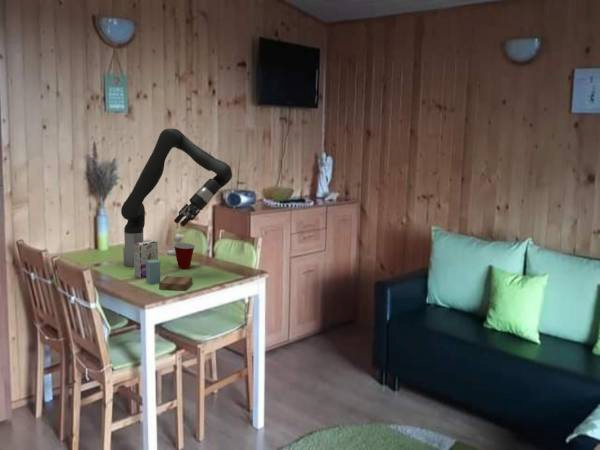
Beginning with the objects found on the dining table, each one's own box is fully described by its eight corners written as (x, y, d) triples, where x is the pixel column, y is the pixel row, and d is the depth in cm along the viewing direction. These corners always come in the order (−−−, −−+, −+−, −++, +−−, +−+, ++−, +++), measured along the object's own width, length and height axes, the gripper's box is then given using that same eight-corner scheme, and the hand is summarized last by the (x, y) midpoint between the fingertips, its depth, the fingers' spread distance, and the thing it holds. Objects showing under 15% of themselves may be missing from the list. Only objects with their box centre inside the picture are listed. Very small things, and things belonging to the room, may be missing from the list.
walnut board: (159, 289, 267) (159, 283, 266) (166, 282, 278) (166, 276, 278) (185, 290, 266) (185, 284, 265) (192, 283, 278) (192, 277, 277)
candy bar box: (151, 272, 295) (150, 239, 292) (158, 273, 292) (158, 240, 289) (133, 277, 286) (133, 243, 283) (141, 278, 283) (140, 244, 280)
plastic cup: (190, 271, 299) (190, 247, 297) (170, 269, 302) (170, 245, 299) (198, 265, 310) (198, 243, 308) (178, 264, 312) (178, 241, 310)
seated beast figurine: (179, 251, 340) (178, 231, 338) (189, 254, 335) (189, 233, 333) (166, 254, 333) (166, 233, 330) (177, 257, 328) (176, 235, 326)
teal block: (149, 284, 274) (149, 262, 273) (146, 281, 279) (146, 260, 277) (160, 283, 277) (160, 261, 275) (157, 280, 281) (156, 259, 279)
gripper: (190, 191, 288) (167, 216, 284) (202, 194, 276) (178, 221, 272) (201, 201, 291) (178, 226, 287) (212, 205, 279) (189, 231, 275)
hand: (178, 223), depth 280 cm, fingers open, 8 cm apart
